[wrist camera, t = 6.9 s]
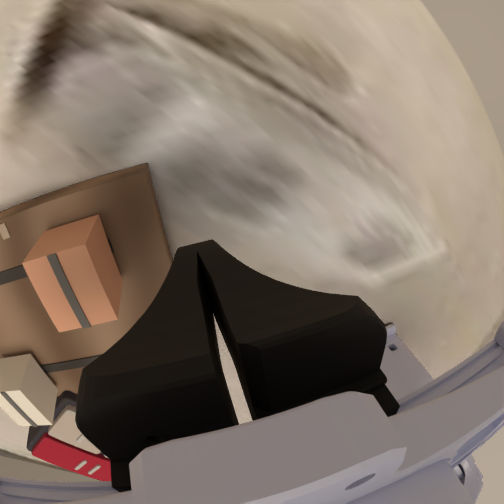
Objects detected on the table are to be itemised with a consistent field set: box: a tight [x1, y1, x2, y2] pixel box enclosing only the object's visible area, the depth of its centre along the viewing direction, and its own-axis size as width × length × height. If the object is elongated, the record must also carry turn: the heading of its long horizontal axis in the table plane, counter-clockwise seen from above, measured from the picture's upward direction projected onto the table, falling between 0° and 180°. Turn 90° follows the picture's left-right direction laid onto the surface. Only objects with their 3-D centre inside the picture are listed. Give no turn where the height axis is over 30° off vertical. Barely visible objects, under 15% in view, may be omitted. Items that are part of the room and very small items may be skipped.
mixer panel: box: [0, 163, 173, 396], centre depth 16 cm, size 15×13×2 cm
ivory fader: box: [0, 354, 58, 427], centre depth 14 cm, size 3×4×3 cm
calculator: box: [27, 391, 111, 481], centre depth 22 cm, size 11×4×15 cm
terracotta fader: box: [22, 214, 123, 332], centre depth 12 cm, size 3×4×3 cm
